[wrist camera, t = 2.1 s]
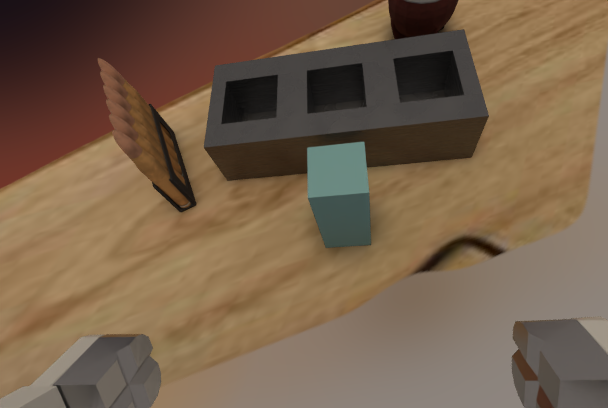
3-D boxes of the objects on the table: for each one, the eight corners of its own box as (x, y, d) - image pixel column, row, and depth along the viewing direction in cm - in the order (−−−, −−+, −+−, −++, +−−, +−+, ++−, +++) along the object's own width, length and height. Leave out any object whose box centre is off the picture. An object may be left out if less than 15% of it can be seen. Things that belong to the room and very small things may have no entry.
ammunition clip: (196, 205, 38) (126, 134, 27) (180, 213, 38) (103, 145, 27) (173, 131, 43) (106, 47, 32) (159, 138, 42) (87, 56, 32)
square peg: (326, 247, 33) (307, 197, 24) (324, 207, 35) (307, 147, 26) (370, 244, 33) (369, 192, 24) (367, 204, 34) (364, 141, 25)
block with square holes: (227, 180, 38) (203, 147, 33) (235, 105, 43) (215, 65, 37) (471, 157, 35) (488, 115, 29) (452, 77, 39) (463, 29, 34)
